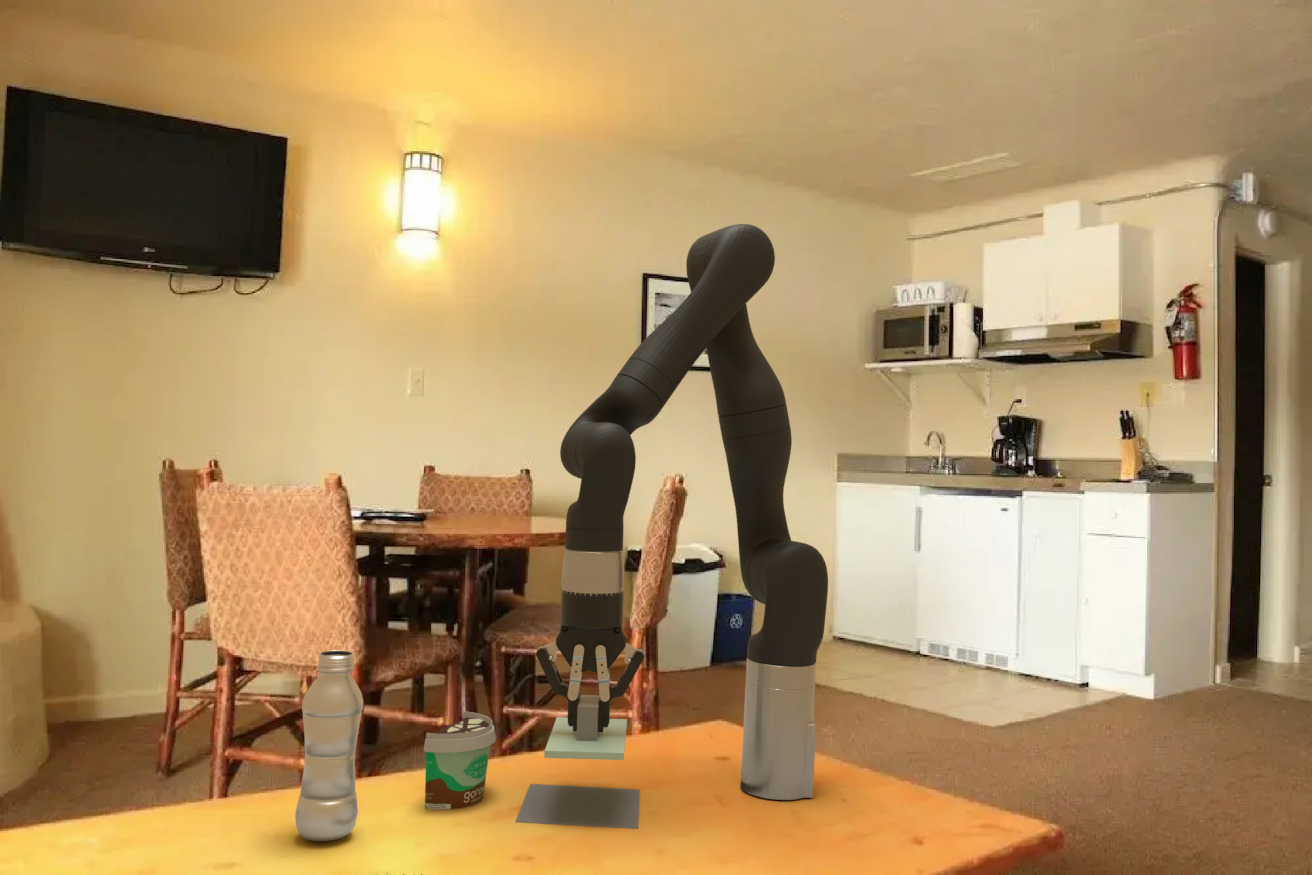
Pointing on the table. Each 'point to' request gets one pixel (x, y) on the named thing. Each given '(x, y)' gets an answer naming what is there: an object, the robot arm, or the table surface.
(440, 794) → the food container
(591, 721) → the lid
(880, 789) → the table surface
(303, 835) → the plastic bottle
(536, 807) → the rubber mat
